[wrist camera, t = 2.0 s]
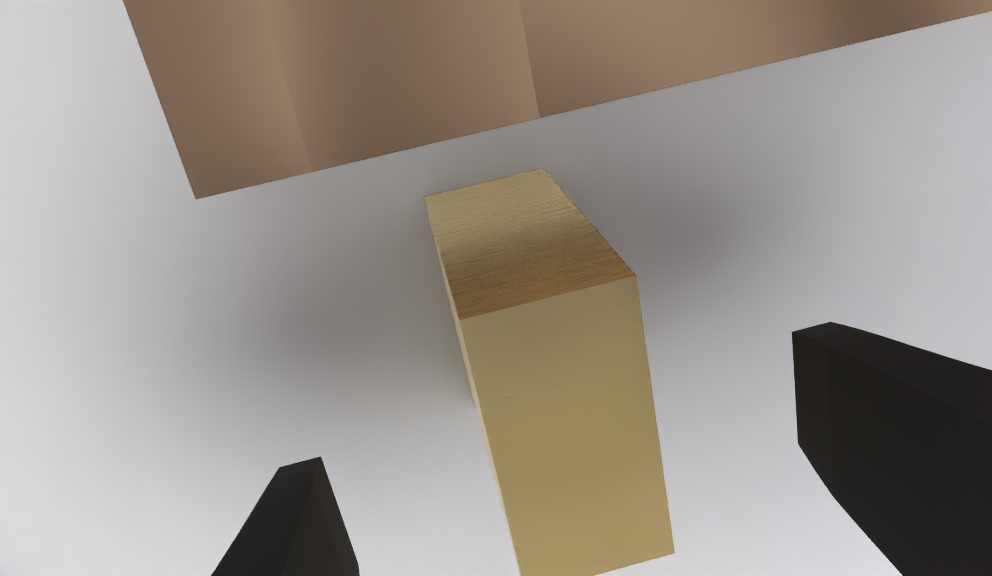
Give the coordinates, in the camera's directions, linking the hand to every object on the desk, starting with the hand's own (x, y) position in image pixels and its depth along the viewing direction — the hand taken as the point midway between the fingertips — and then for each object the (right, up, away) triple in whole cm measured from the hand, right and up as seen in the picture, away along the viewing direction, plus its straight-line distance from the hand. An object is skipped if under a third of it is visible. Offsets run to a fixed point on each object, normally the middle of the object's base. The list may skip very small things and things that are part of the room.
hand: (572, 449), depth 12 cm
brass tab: (-1, +2, +6) cm, 6 cm away
